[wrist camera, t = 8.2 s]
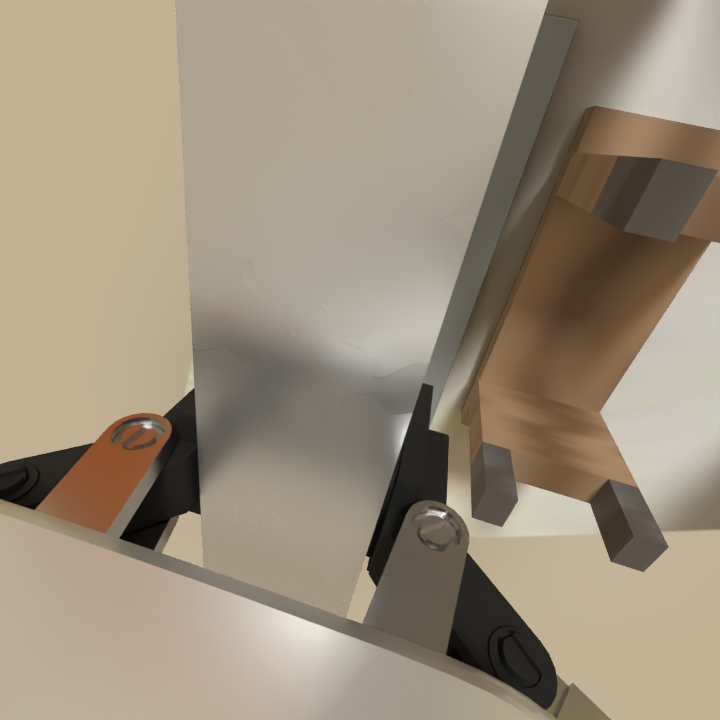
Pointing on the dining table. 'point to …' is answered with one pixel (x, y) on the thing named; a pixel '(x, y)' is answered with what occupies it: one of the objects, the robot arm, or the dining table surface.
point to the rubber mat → (501, 191)
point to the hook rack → (591, 320)
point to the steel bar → (327, 254)
